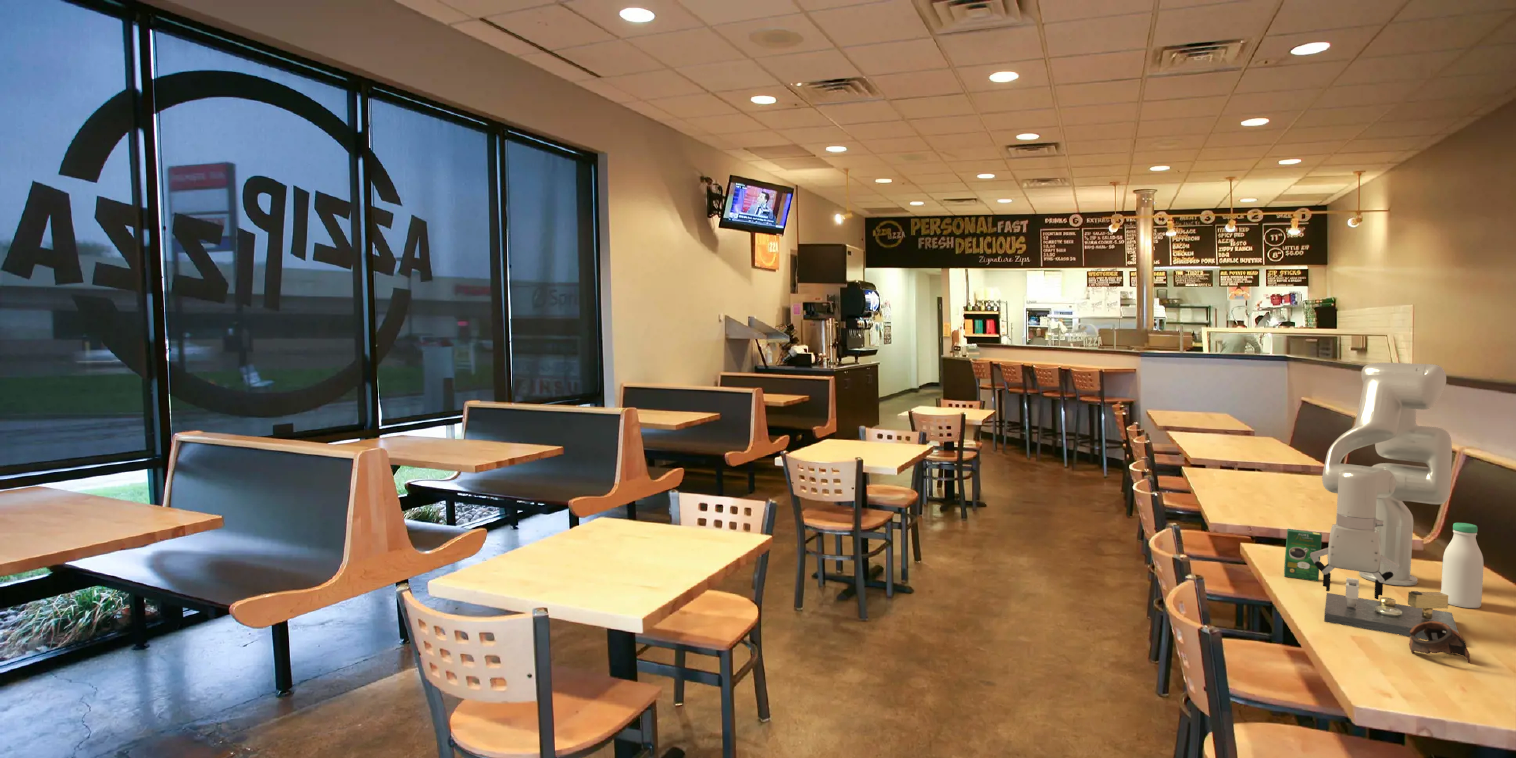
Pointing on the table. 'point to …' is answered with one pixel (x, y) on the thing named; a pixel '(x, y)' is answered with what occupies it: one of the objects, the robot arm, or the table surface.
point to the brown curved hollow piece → (1438, 640)
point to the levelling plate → (1381, 615)
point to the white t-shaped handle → (1352, 591)
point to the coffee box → (1301, 554)
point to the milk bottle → (1463, 568)
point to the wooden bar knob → (1427, 602)
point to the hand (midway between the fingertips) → (1351, 593)
